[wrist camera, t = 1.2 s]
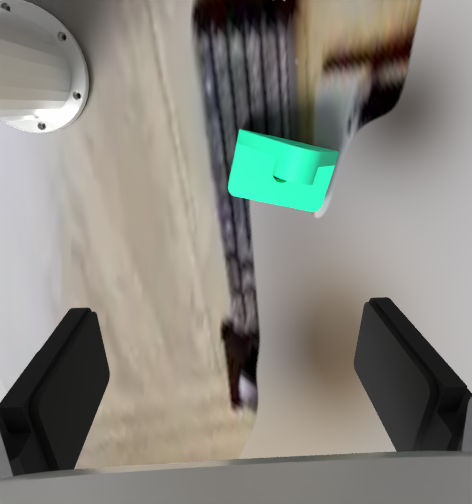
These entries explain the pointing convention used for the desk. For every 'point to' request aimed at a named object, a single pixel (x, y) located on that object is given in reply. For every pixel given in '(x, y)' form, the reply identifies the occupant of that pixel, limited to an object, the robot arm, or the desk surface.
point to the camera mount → (280, 171)
